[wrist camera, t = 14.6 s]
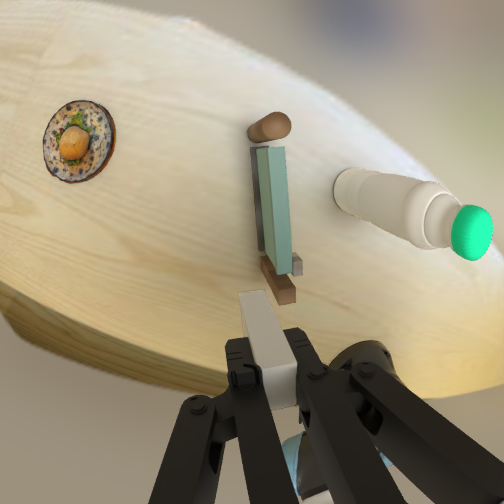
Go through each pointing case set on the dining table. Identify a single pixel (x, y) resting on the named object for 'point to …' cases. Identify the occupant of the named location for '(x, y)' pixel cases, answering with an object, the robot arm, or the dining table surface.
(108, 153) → the burger
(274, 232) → the gate
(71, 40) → the dining table surface
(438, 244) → the water bottle
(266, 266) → the gate frame
